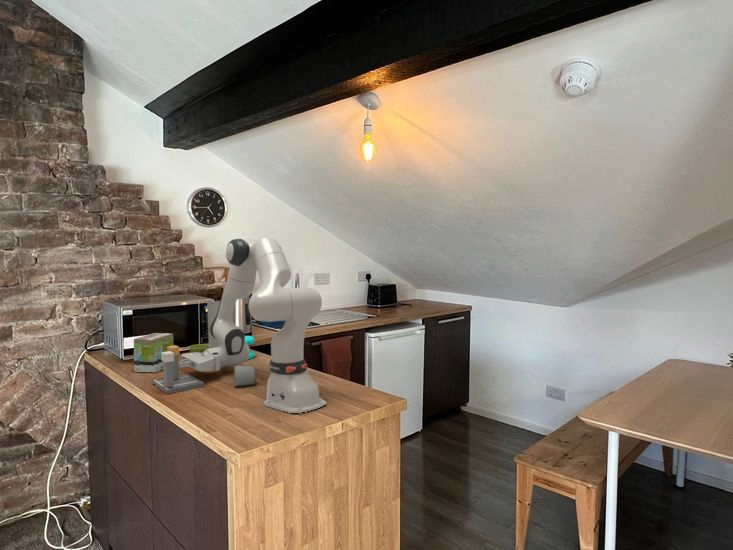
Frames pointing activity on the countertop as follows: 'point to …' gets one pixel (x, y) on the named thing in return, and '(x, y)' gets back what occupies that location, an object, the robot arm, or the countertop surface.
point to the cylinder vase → (212, 313)
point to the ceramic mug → (244, 375)
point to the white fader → (168, 368)
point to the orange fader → (175, 360)
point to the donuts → (249, 341)
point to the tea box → (151, 351)
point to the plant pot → (198, 348)
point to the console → (180, 383)
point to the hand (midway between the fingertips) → (177, 364)
